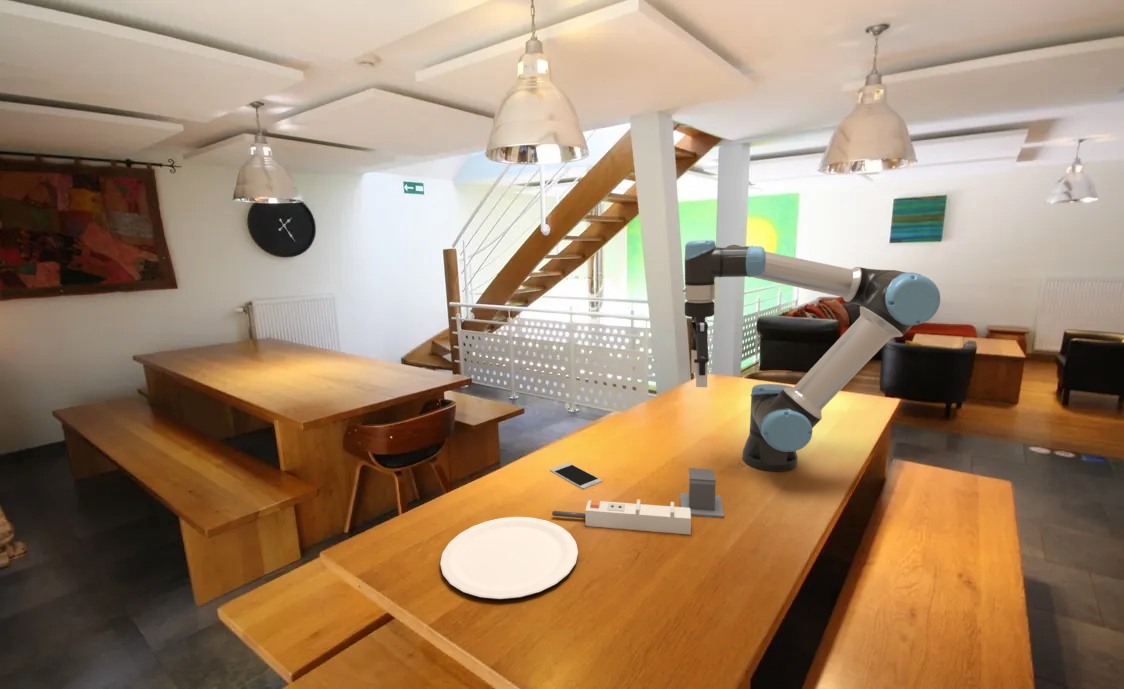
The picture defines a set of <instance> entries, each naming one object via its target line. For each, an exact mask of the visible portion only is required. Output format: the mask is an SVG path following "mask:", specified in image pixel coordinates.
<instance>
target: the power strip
mask: <svg viewBox="0 0 1124 689" xmlns="http://www.w3.org/2000/svg"><path fill="white" fill-rule="evenodd" d="M551 515H552V516H554V517H563V518H564V517H565V518H572V519H573V518H575V519H585V527H595V528H604V529H605V528H608V529H615V530H616V529H619V530H628V531H629V530H631V531H632V530H633V531H641V532H642V531H643V532H654V533H664V534H679V535H690V536H691V535H692V534H691V532H692V531H691V530H692V528H691V526H692V525H691V524H692V516H691V512H690V508H685V507H681V506H675V502H674V501H670V505H669V506H668V505H657V504H642V503H641V499H636V503H629V502H616V501H615V502H614V501H604V500H602V501H601V500H587V504H586V507H585V511H584V512H575V511H573V512H572V511H561V510H553V511H551Z"/></svg>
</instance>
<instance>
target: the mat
mask: <svg viewBox="0 0 1124 689" xmlns="http://www.w3.org/2000/svg"><path fill="white" fill-rule="evenodd" d="M688 496H689V492H687V493H686V492H680V494H679V497H680V500H679V501H680V507H685V508H689V498H688ZM723 509H724V508H723V502H722V497H721V495H716V494H715V511H709V510H695V509H690V512H691V517H703V518H705V517H706V518H717V519H725V514H724V510H723Z"/></svg>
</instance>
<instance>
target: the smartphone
mask: <svg viewBox="0 0 1124 689" xmlns="http://www.w3.org/2000/svg"><path fill="white" fill-rule="evenodd" d="M549 472H551V473H553V474H554V475H557V476H558V477H559V478H561V479H563V480H565V481H567V482H568V483H570V484H572V485H574V486H575V487H577V488H579V489H581V490H583V491H584V490H587V489H589V488H591V487H593V486H594V487H595V486H596V485H598V484H600V483H603V479H601V478H599V477H597V476H595V474H594V475H593V474H591V473H590V472H588V471H586V470H583V469H582V468H580V467H578V466H576V465H574V464H572V463H571V462H567V463H562V464H560V465H558V466H555V467H551V468H550V469H549Z"/></svg>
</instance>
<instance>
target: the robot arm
mask: <svg viewBox="0 0 1124 689" xmlns="http://www.w3.org/2000/svg"><path fill="white" fill-rule="evenodd" d="M732 277H733V278H739V277H741V278H742V277H746V278H747V277H748V278H754V279H759V280H763V281H768V282H772V283H776V284H782V285H786V286H791V287H795V288H801V289H804V290H810V291H812V292H813V291H814V292H818V293H823V294H827V295H832V296H835V297H842V299H843V301H844V302H846V303H851V304H854V305H858V306H859V314H860V315H859V316H858V318H857V319H856V320H855V321H854V323H852V325H850V326H849V327H848V328H847V330H846V331H845V332H844V333H842V335H841V336H840V337H839V338H838V339H837V340H836V341H835V343H834V344H833V345H832V346H831V347H830V348H829V349H828V350H827V351H826V352H825V353H824V354H823V355H822V357H821V358H819V360H818V361H817V362H816V363H815V364H814V365H813V366H812V367H811V368H810V369H809V370H808V372H806V374H805V375H804V376H803V377H801V379H800V380H799V381H798V382H797V383H796V384H795V385H794V386H793V387H792V386H790V385H787V384H778V383H777V384H776V383H759V384H755V385H754V386H752V389H751V393H750V397H751V399H750V418H749V420H750V422H749V434H748V437H747V439H746V442H745V444H744V447H743V448H742V456H741V457H742V458H741V459H742V461H744V463H745V464H747V465H748V466H750V467H752V468H756V469H758V470H762V471H768V472H787V471H792V470H795V468H796V467H797V466H798V461H799V460H798V454H797V451H799V450H802V449H804V447H805V446H807V445H808V444H809V443H810V441H811V440H812V437H813V428H815V426H816V425H817V424H819V422H820V421H821V420H822V418H823V417H822V416H823V415H822V410H823V409H824V408H825V407H826V405H828V404H829V403H830V401H832V399H833V398H835V397H836V395H837V394H838V393H840V391H841V390H842V389H843V388H844V387H845V386H846V385H847V384H848V383H849V382H850V381H851V380H852V379H853V378H854V376H856V374H858V372H860V371H861V369H863V367H864V366H865V365H866V364H867V363H868V362H870V360H871V359H872V358H873V357H874V356H875V355H876V354H877V353H878V352H879V351H880V350H881V349H882V348H883V347H884V346H885V345H886V344H887V343H888V341H890V340H891V339H892V338H901V337H904V335H905V334H906V333H908V331H909V330H910V329H911V328H912V327H913V326H918V325H921V324H924V323H926V322H928V321H929V320H931V319H932V318H933V317H934V316H935V315H936V313H937V312H938V310H939V307H940V304H941V294H940V290H939V288H938V286H937V285H936V283H935V282H934V281H933V280H931V279H930V278H929V277H927V276H925V275H922V274H921V273H917V272H905V271H900V270H895V269H875V268H867V267H862V266H861V267H860V266H855V267H853V268H847V267H842V266H836V265H832V264H827V263H823V262H818V261H813V260H807V259H803V258H798V257H793V256H789V255H783V254H780V253H773V252H770V251H766V250H765V248H764V247H763V246H760V245H757V246H754V245H749V246H742V245H739V244H738V245H737V244H729V245H727V246H726V247H717V245H716V242H715V240H712V239H707V240H705V239H704V240H688V241H687V242H686V243H685V249H684V288H682V293H684V299H685V300H686V301H685V302H684V315H685V317H687V318H691V319H692V320H691V322H690V328H691V330H690V331H691V338H690V339H691V341H690V348H691V353H690V354H691V355H690V356H691V362H690V363H691V364H690V365H691V366H690V367H691V374H695V387H696V388H708V363H709V361H710V358H709V346H708V345H709V344H708V336H709V335H708V334H709V333H708V328H709V324H708V323H707V321H706V318H710V317H713V316H714V315H715V301H714V300H715V298H716V297H715V296H716V281H715V279H716V278H732Z"/></svg>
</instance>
